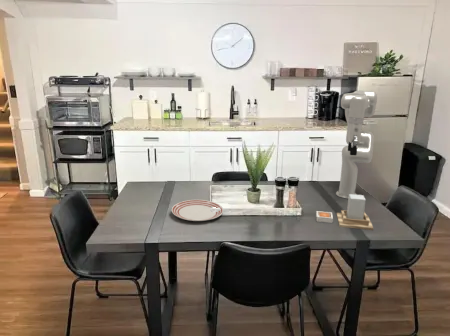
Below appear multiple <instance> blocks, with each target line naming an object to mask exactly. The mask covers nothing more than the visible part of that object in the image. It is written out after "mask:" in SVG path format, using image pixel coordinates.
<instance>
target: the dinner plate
mask: <svg viewBox="0 0 450 336" xmlns="http://www.w3.org/2000/svg"><path fill="white" fill-rule="evenodd" d="M211 206H212V207H216V208H220V209H221V210H220V211H218V212H215V213H213V212H211V211H210V208H211ZM171 213H172V214H173V215H174V216H175V217H177V218H179V219H182V220H186V221H193V222H204V221H210V220H214V219H217V218H219V217H220V216H221V215H222V214H223V213H224V208H223V205H220V204H218V203H217V202H214V201H211V200H207V199H188V200H184V201H180V202H178V203H176V204H174V205H173V206H172V208H171Z"/></svg>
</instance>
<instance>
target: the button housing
mask: <svg viewBox="0 0 450 336" xmlns="http://www.w3.org/2000/svg"><path fill="white" fill-rule="evenodd" d="M315 212H316V213H315V220H316V222H317V223H318V222H320V223H329V224H333V223H334V218H333V212H331V211H324V212H325V213H328V214H329V217H320V213H322V212H323V211H320V210H319V211H318V210H316V211H315Z"/></svg>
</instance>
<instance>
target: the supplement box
mask: <svg viewBox="0 0 450 336" xmlns="http://www.w3.org/2000/svg"><path fill="white" fill-rule="evenodd" d="M347 199H348V200H347V207H346V211H347V214H346V217H347V218H348V219H358V220H363V216H364V212H365V207H366V198H365V195H364V194H363V195H362V194H357V195H354V194H349V198H347Z"/></svg>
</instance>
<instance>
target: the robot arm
mask: <svg viewBox="0 0 450 336" xmlns="http://www.w3.org/2000/svg"><path fill="white" fill-rule="evenodd" d="M377 103H378V94H377V93H376V91H374V90H355V91H353V92H350V93H343V94H342V97H341V99H340V106H341V108H342V109H344V115H345V120H346V124H347V128H346V135H345V141H346V144H347V145H346V146H344V147H343V148H342V149H341V172H340V180H339V188H338V190H337V191H336V192H335V195H336V196H338V197H340V198H341V199H342V198H343V199H348V198H349V194H354V195H358V193H356V187H357V180H358V174H359V173H358V171H359V169H358V166H357V164H356V163H360V164H361V163H364V164H369V163H371V162H372V160H373V154H374V152H373V151H374V143H375V136H374V134H373V132H371V131H370V130H369V131H367V130H362V128H363V125H364V122H365V121H364V119H365V117H367V118H368V117H369V118H372V117H373V116H374V115H375V112H376V107H377Z"/></svg>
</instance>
